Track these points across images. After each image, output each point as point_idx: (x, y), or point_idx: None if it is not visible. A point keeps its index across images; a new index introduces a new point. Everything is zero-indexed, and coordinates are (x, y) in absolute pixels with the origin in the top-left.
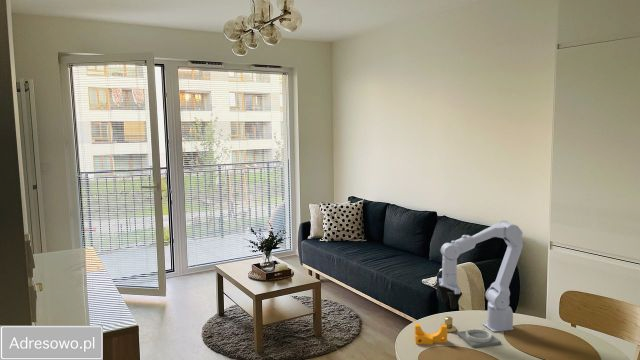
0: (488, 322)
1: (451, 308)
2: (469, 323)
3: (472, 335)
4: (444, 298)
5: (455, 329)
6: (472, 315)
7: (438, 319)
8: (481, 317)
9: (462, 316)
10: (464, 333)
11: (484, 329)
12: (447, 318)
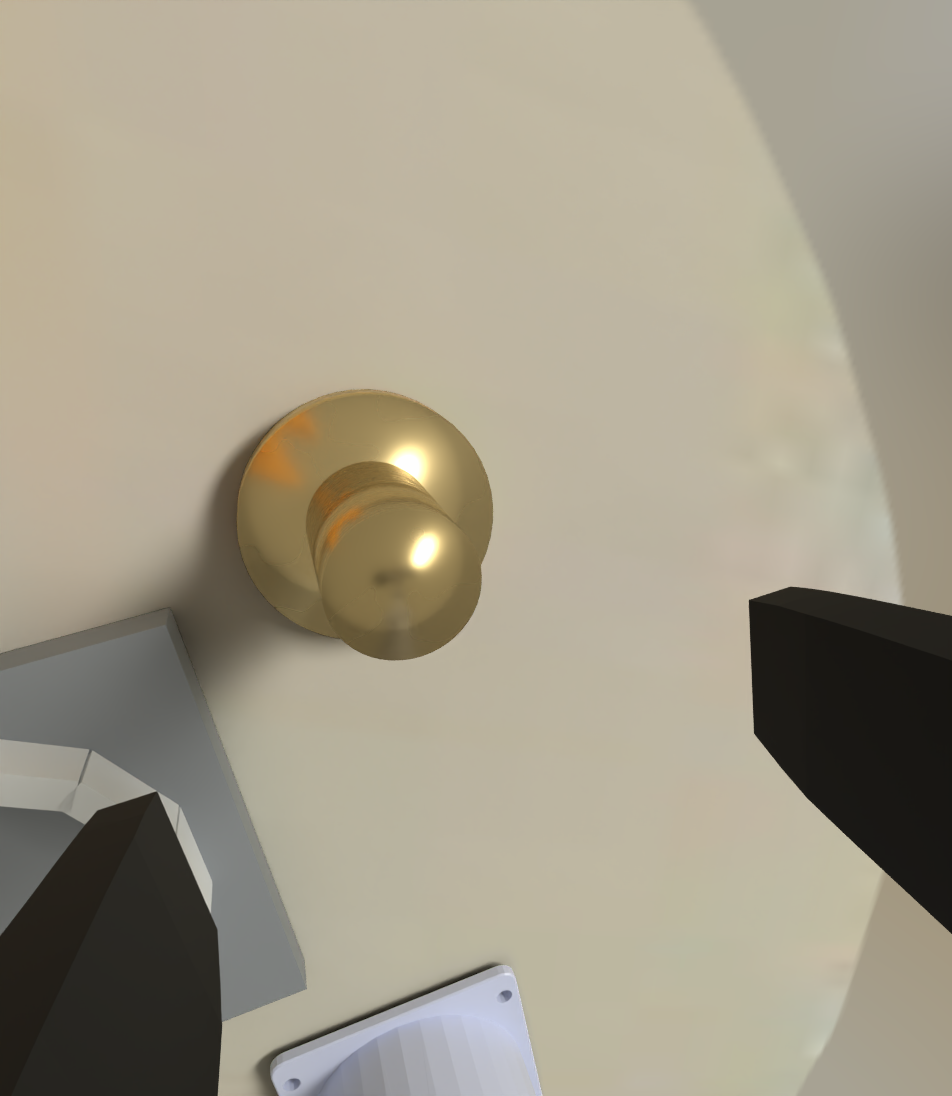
0: (417, 1080)
1: (83, 828)
2: (556, 821)
3: (27, 840)
4: (846, 725)
5: (292, 620)
6: (767, 872)
7: (739, 440)
8: (699, 952)
9: (764, 767)
10: (106, 734)
11: (284, 994)
12: (383, 557)
